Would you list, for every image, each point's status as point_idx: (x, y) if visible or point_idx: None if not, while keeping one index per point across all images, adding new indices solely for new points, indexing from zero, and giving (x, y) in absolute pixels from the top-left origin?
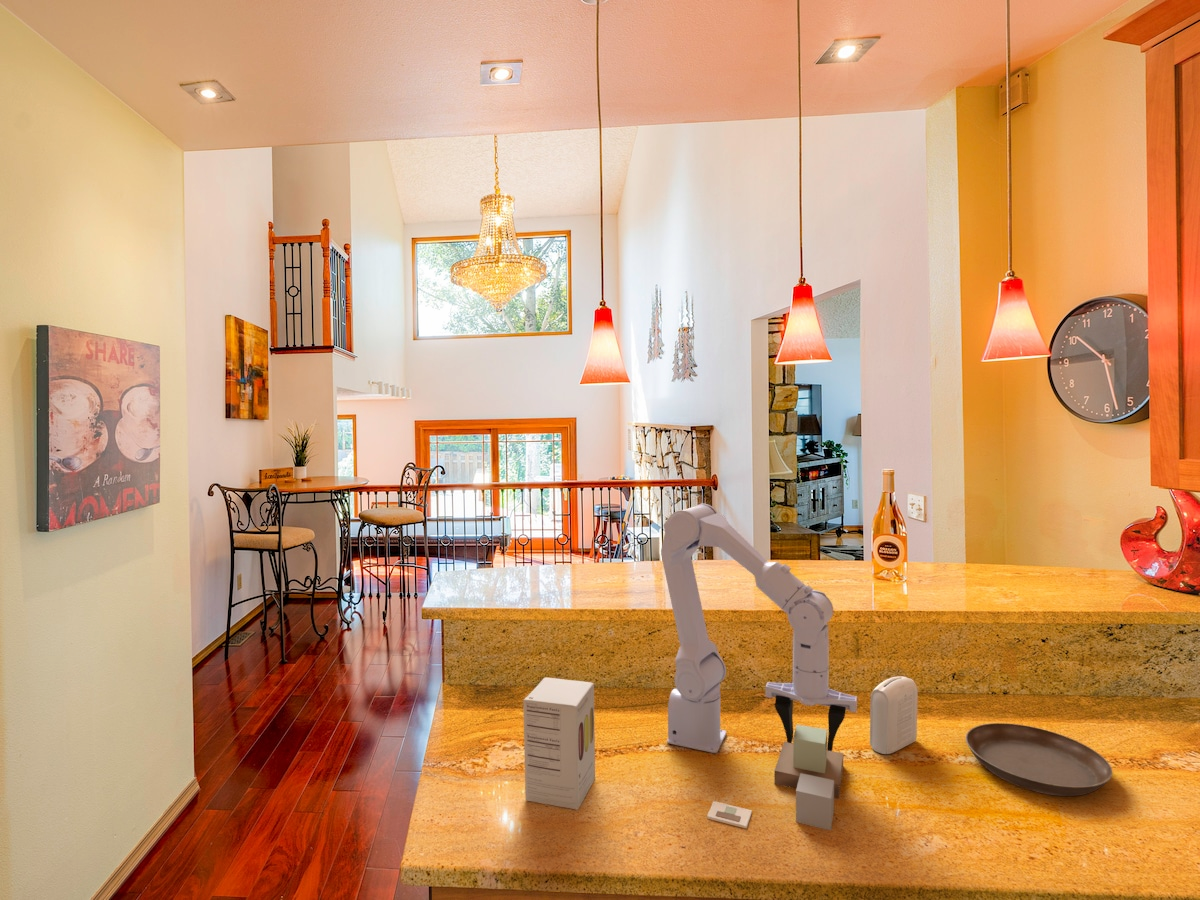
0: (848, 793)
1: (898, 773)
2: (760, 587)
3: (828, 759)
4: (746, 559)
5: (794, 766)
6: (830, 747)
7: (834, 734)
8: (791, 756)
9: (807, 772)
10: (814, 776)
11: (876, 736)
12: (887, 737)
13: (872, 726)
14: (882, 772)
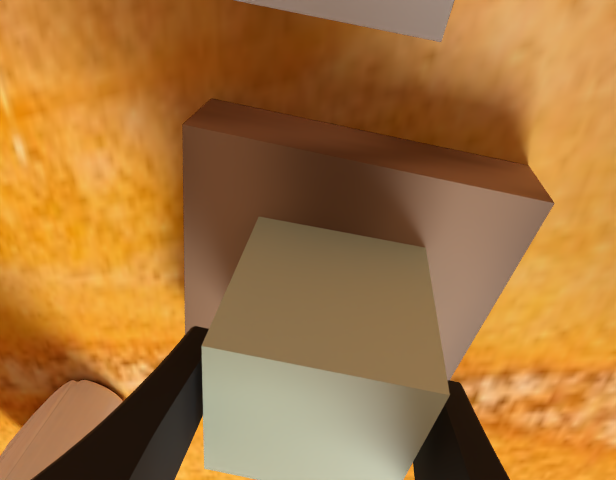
0: (170, 151)
1: (25, 300)
2: None
3: None
4: None
5: (419, 250)
6: (188, 341)
7: (105, 424)
8: None
9: (352, 213)
10: (315, 7)
11: (79, 438)
12: (35, 433)
13: None
14: (73, 300)
